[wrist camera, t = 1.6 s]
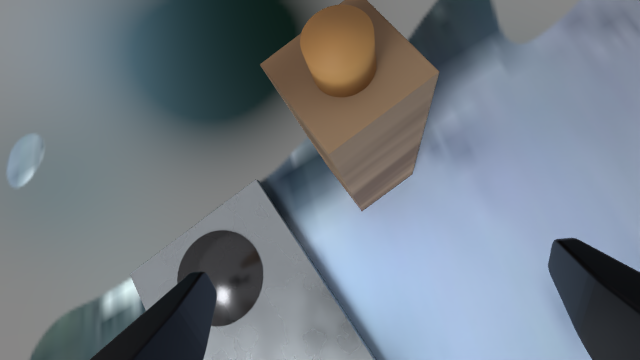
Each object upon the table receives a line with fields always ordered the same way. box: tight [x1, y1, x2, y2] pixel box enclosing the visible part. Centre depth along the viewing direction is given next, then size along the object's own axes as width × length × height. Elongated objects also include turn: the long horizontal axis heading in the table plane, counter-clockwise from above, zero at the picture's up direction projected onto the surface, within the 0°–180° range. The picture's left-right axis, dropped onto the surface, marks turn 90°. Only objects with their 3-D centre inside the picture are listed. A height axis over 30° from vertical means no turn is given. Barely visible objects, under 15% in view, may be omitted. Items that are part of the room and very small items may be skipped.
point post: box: [260, 0, 439, 211], centre depth 15 cm, size 4×4×14 cm
